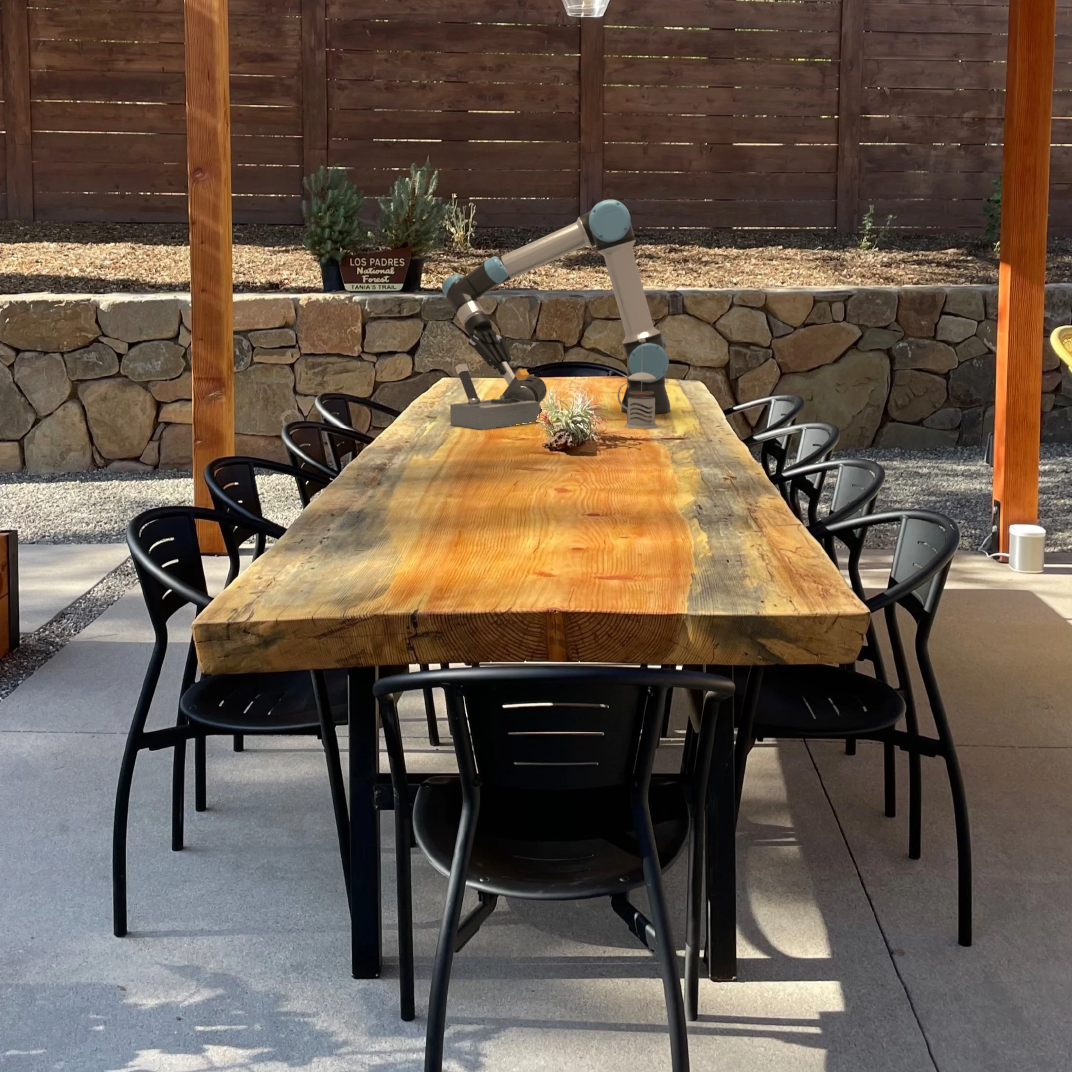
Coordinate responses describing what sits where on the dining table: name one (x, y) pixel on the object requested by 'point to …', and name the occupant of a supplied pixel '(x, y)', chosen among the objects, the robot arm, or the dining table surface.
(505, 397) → the lever
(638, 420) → the french press
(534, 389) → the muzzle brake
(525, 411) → the twin lever control box
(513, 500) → the dining table surface
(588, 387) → the dining table surface
